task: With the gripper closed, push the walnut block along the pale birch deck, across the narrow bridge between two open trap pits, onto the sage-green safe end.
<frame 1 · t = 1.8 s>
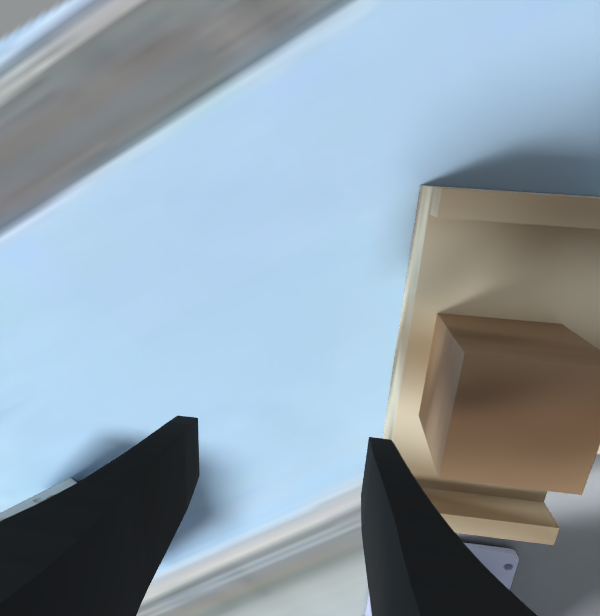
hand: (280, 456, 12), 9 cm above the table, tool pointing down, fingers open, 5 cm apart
walnut block: (486, 372, 17), point 2 cm above the table, touching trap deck
die: (94, 512, 26), on the table
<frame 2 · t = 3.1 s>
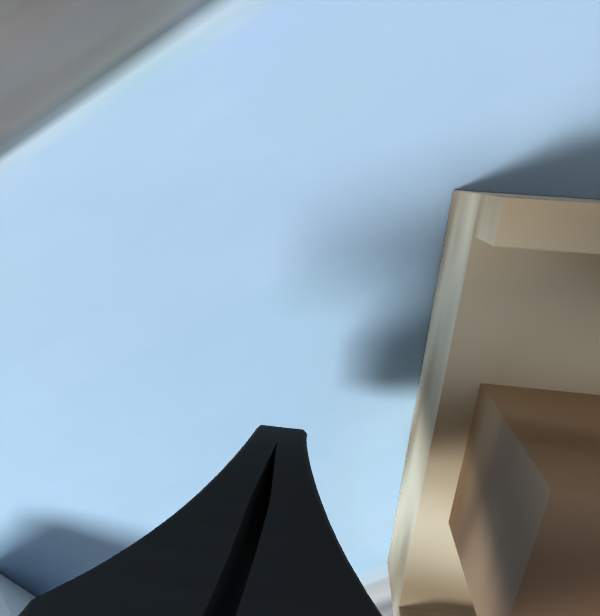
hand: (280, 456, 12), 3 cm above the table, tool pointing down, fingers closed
walnut block: (550, 467, 12), point 2 cm above the table, touching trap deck
die: (23, 606, 20), on the table
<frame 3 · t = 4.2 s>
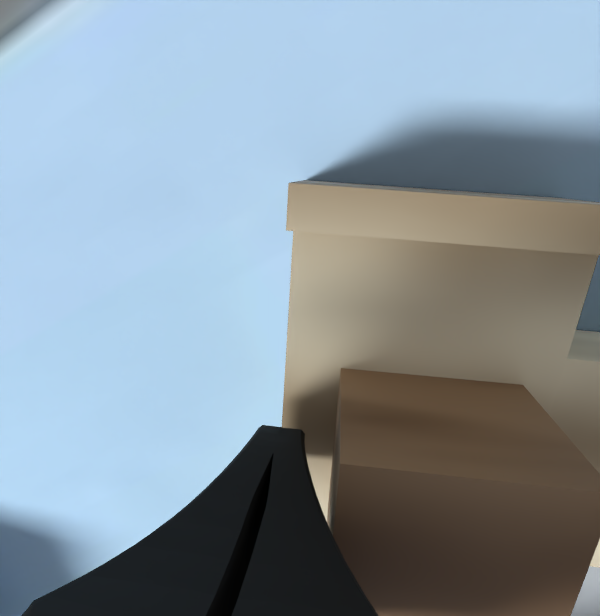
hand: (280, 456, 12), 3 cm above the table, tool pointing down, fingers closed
walnut block: (417, 450, 12), point 2 cm above the table, touching gripper, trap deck
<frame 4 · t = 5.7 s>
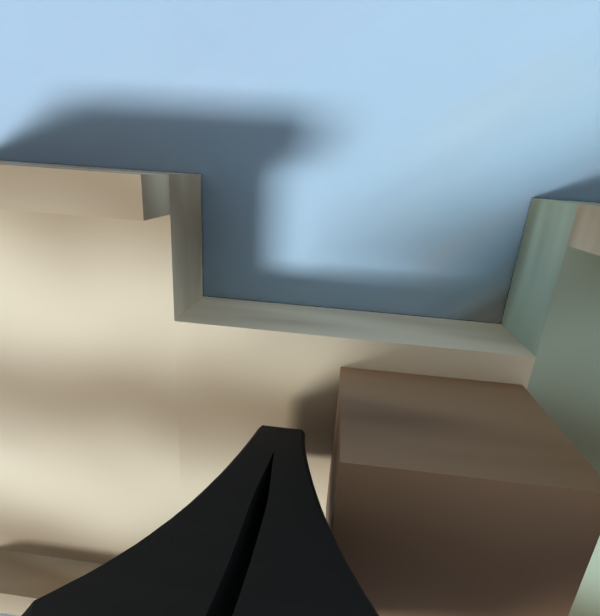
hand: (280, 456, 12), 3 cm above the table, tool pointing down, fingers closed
walnut block: (416, 449, 12), point 3 cm above the table, touching gripper
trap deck: (365, 403, 15), on the table
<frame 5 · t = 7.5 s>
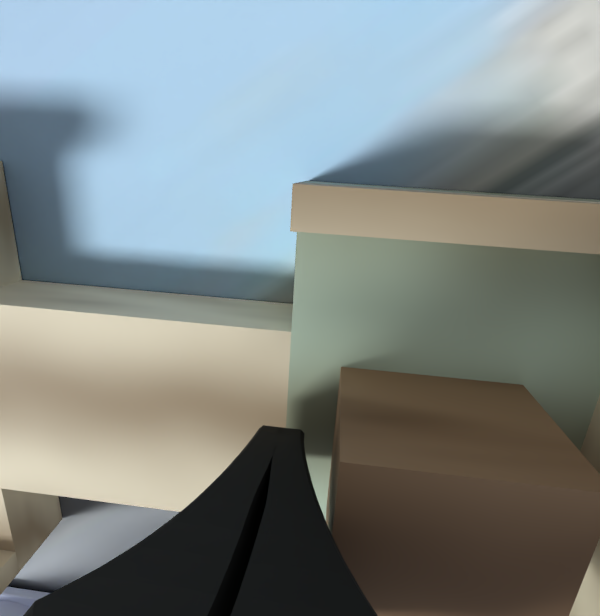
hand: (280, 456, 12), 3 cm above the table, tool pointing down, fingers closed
walnut block: (416, 449, 12), point 2 cm above the table, touching gripper, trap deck
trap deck: (188, 383, 15), on the table
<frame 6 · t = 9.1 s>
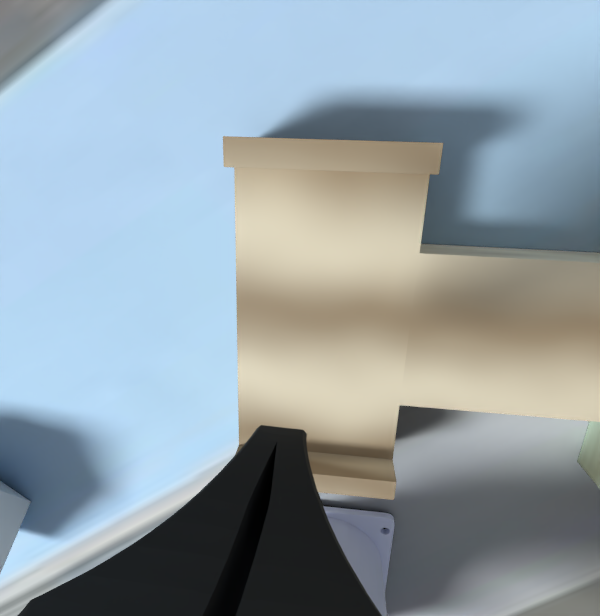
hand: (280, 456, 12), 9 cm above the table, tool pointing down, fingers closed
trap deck: (529, 323, 19), on the table
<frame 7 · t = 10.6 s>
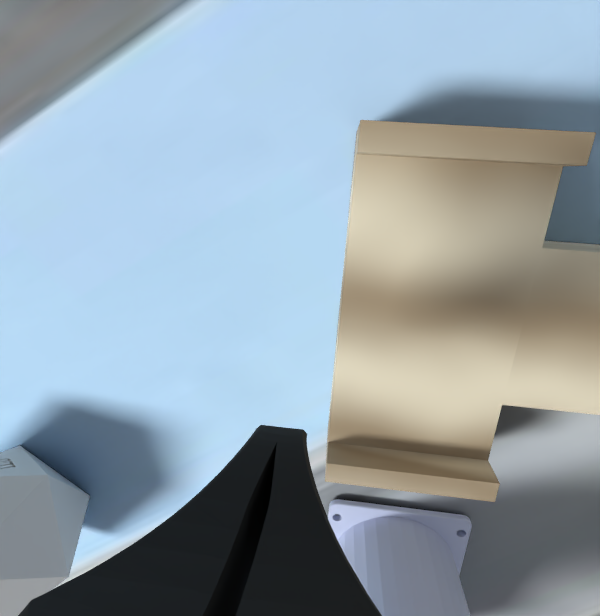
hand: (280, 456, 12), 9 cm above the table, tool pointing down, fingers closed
die: (46, 482, 26), on the table
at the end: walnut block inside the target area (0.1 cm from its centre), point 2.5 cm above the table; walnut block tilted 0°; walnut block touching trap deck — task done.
